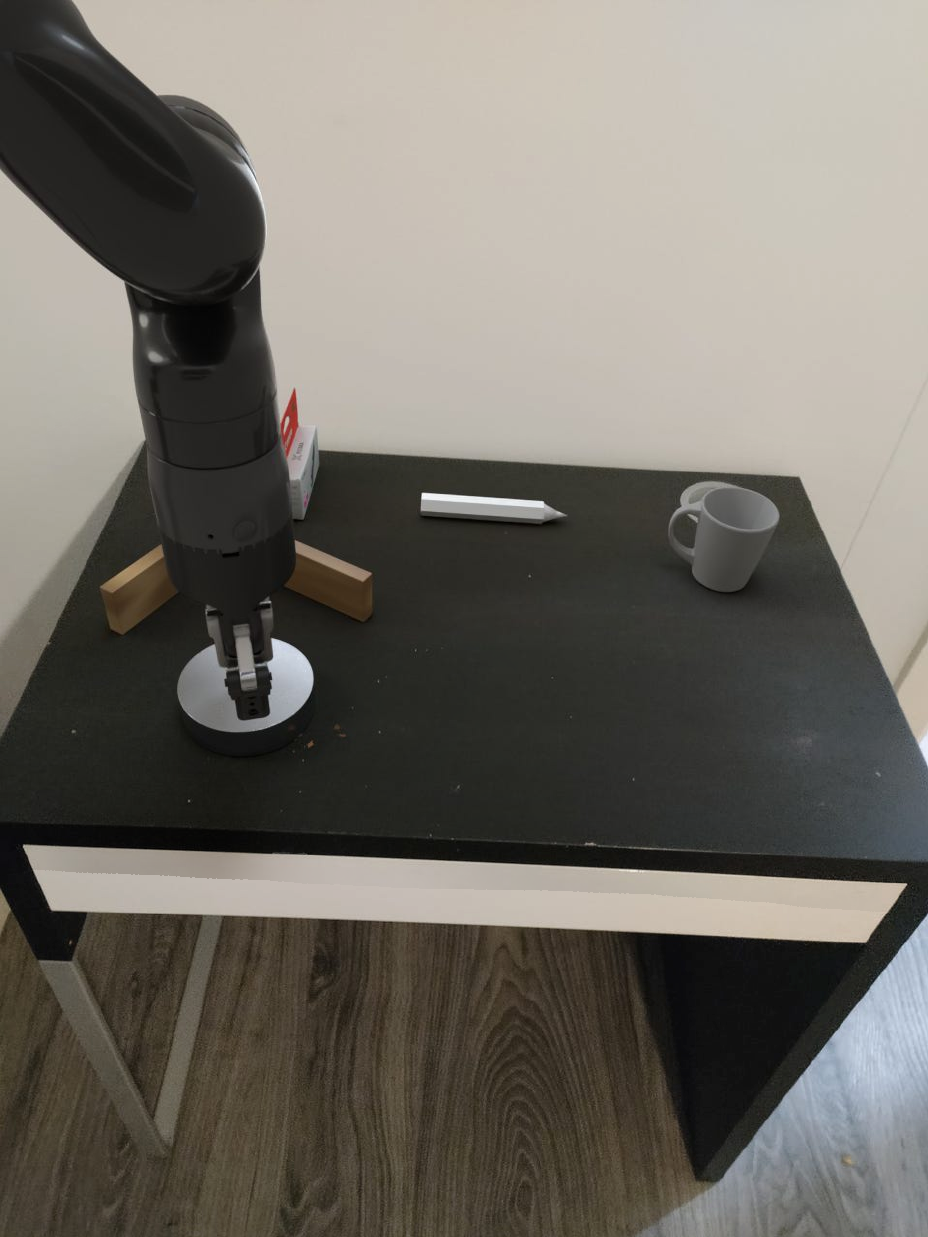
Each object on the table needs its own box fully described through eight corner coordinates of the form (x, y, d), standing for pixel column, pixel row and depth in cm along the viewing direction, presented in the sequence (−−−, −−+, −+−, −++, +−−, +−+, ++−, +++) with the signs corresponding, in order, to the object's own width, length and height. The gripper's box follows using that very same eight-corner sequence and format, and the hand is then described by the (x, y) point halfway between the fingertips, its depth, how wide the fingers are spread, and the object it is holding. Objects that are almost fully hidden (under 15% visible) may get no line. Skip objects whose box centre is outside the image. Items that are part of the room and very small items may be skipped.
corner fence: (272, 712, 78) (267, 670, 75) (110, 629, 84) (99, 586, 81) (372, 614, 88) (372, 573, 85) (221, 546, 94) (215, 505, 91)
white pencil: (566, 528, 102) (420, 517, 101) (566, 511, 102) (421, 500, 102) (570, 518, 99) (420, 507, 99) (570, 500, 100) (422, 489, 99)
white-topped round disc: (258, 777, 73) (255, 753, 71) (153, 720, 77) (147, 695, 75) (341, 692, 80) (340, 668, 78) (241, 644, 84) (238, 619, 82)
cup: (756, 606, 93) (781, 537, 87) (656, 587, 94) (674, 518, 88) (756, 560, 98) (779, 493, 93) (661, 543, 100) (678, 476, 94)
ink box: (320, 464, 107) (316, 387, 100) (303, 521, 98) (298, 441, 92) (298, 462, 107) (293, 385, 100) (280, 519, 98) (273, 439, 92)
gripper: (152, 448, 56) (192, 653, 68) (157, 586, 47) (203, 797, 58) (277, 437, 58) (295, 639, 70) (307, 568, 49) (322, 777, 60)
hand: (253, 711), depth 64 cm, fingers closed
